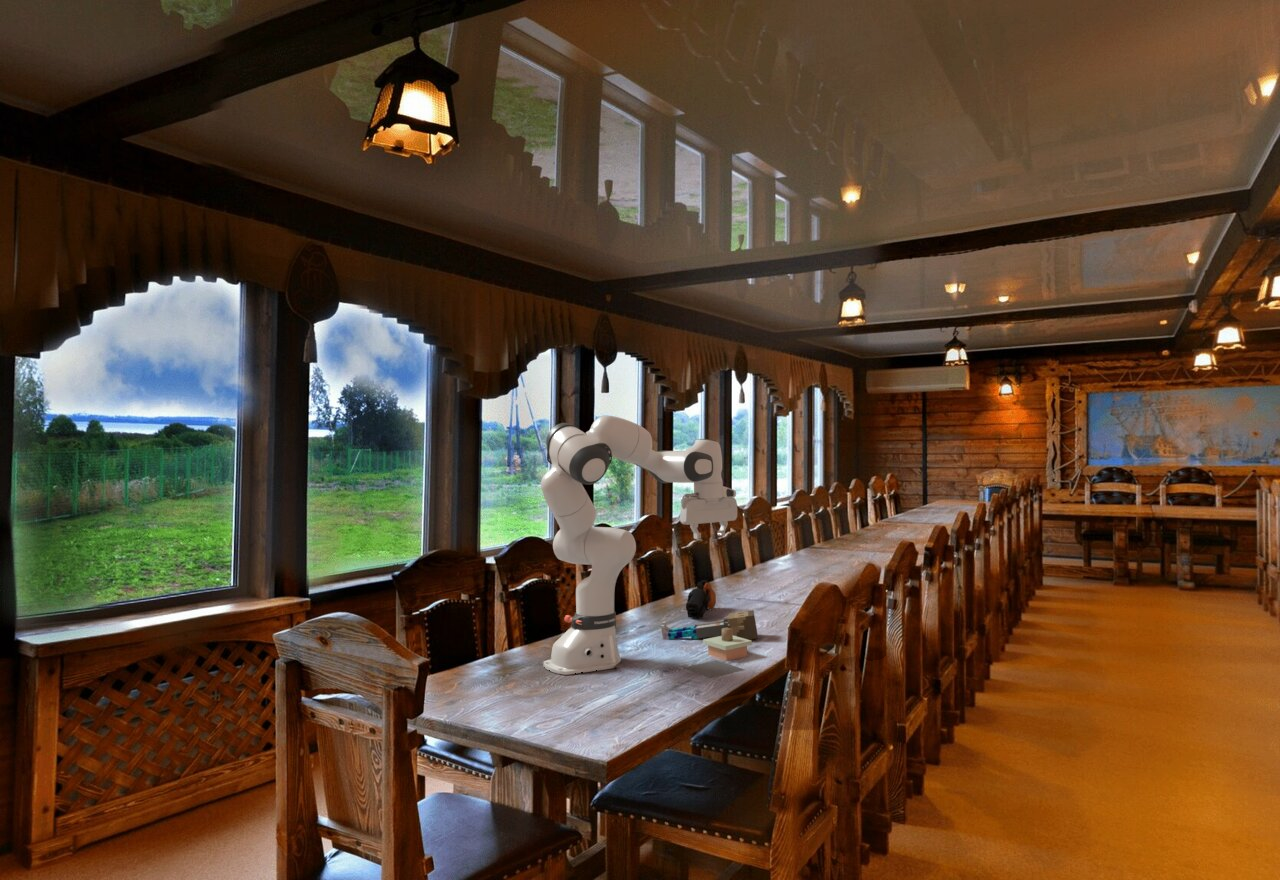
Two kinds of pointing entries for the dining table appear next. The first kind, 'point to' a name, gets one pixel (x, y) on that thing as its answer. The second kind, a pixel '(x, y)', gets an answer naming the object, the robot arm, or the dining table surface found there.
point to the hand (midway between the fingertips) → (709, 537)
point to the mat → (714, 668)
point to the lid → (727, 640)
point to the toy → (717, 627)
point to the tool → (700, 600)
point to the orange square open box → (727, 653)
